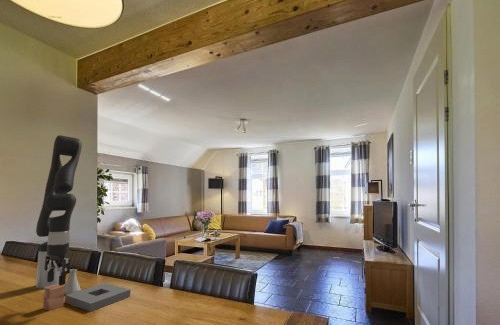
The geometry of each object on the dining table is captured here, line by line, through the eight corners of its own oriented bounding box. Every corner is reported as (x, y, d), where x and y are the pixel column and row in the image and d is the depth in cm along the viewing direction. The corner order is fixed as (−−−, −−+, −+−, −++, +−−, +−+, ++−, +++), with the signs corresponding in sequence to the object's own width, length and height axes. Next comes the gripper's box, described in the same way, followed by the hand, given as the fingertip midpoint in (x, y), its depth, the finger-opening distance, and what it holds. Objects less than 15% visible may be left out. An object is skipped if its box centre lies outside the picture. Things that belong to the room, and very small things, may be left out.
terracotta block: (42, 308, 112) (44, 287, 113) (56, 303, 116) (57, 284, 117) (49, 311, 110) (51, 289, 110) (63, 306, 114) (64, 286, 115)
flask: (71, 295, 125) (73, 272, 126) (57, 294, 127) (59, 271, 128) (84, 290, 132) (85, 268, 133) (71, 289, 134) (72, 267, 135)
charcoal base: (64, 302, 118) (65, 295, 118) (105, 289, 133) (105, 282, 134) (90, 311, 109) (90, 303, 109) (130, 296, 125) (130, 289, 125)
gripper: (39, 242, 116) (36, 283, 114) (58, 245, 109) (55, 288, 107) (58, 239, 122) (56, 278, 120) (78, 242, 115) (75, 283, 114)
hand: (56, 283), depth 114 cm, fingers open, 8 cm apart
